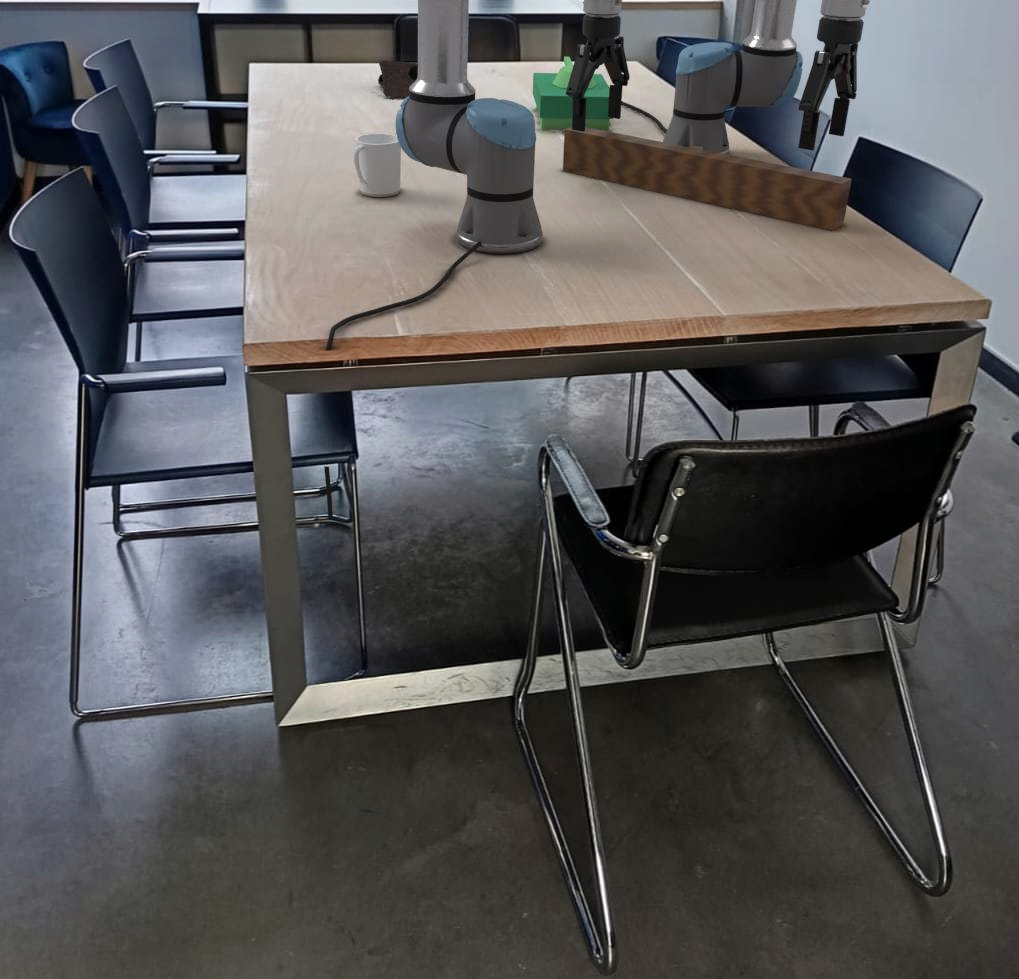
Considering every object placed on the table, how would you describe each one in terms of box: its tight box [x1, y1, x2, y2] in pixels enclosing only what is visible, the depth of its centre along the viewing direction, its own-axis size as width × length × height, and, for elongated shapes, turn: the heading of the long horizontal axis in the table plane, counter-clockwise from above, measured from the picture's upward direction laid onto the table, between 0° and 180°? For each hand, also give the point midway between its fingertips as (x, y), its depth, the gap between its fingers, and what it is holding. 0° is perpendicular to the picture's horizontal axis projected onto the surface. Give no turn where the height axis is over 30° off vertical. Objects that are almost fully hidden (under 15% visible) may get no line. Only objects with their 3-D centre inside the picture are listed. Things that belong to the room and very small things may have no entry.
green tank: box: [532, 56, 614, 131], centre depth 275 cm, size 18×12×35 cm
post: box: [562, 127, 853, 232], centre depth 219 cm, size 62×5×9 cm, turn 53°
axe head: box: [377, 59, 418, 99], centre depth 299 cm, size 18×8×15 cm
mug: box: [352, 132, 402, 198], centre depth 216 cm, size 11×9×10 cm
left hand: (596, 124), depth 229 cm, fingers open, 13 cm apart
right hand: (821, 142), depth 201 cm, fingers open, 13 cm apart
